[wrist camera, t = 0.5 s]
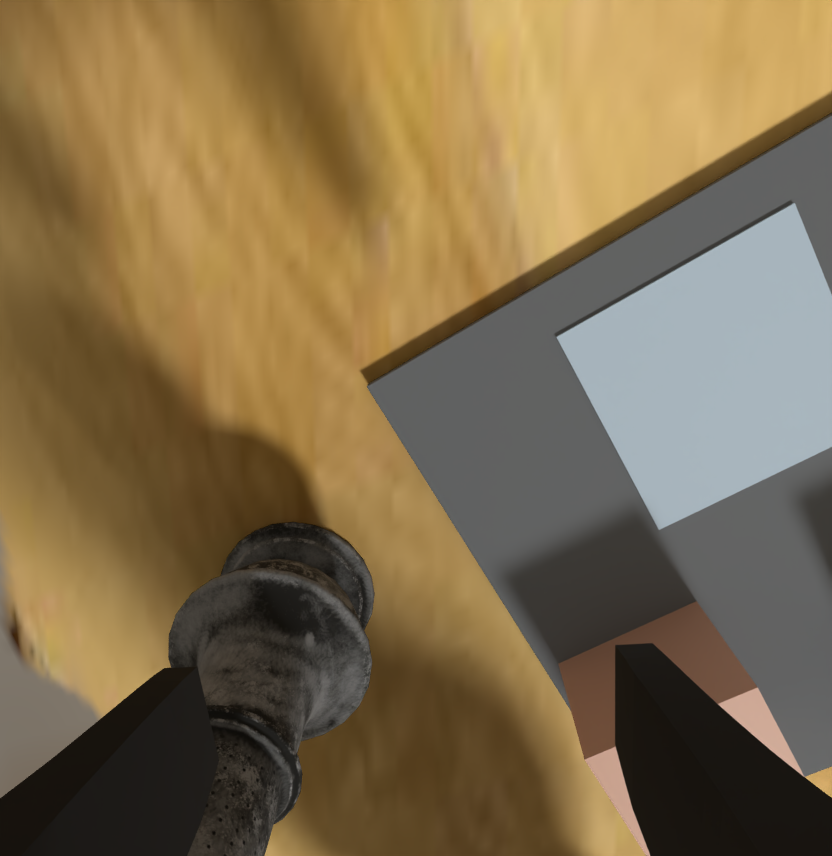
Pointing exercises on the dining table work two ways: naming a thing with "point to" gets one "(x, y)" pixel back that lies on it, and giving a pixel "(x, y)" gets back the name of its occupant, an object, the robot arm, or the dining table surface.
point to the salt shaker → (273, 670)
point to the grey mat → (658, 435)
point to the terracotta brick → (698, 658)
